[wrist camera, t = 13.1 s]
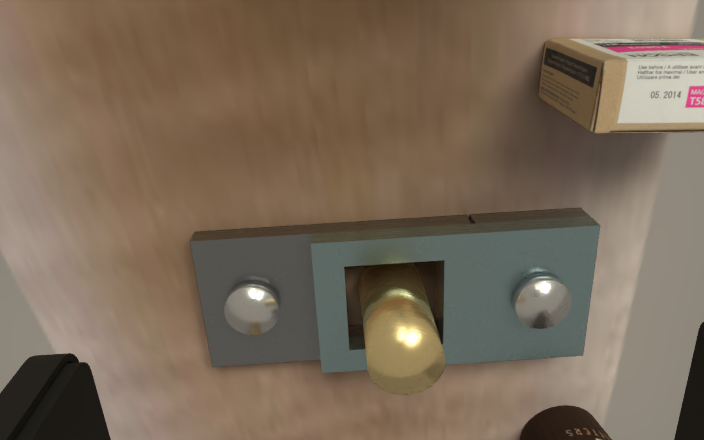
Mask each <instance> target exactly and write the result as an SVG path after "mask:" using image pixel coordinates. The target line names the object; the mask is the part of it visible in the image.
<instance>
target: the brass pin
mask: <svg viewBox="0 0 704 440" xmlns="http://www.w3.org/2000/svg"><path fill="white" fill-rule="evenodd" d="M359 292H360V302H361V311H362V320H363V330H364V339H365V348H366V358H367V367H368V372H369V375H370V377H371V379H372V380H373V382H374V383H375V384H376V385H377V386H378V387H380V388H381V389H383V390H385V391H387V392H390V393H393V394H400V395H408V394H414V393H418V392H421V391H423V390H425V389H427V388H429V387H430V386H432V385H433V384H434V383H435V382H436V381H437V380H438V379H439V378H440V376H441V374H442V373H443V370H444V367H445V354H444V350H443V347H442V344H441V341H440V338H439V334H438V331H437V328H436V325H435V322H434V318H433V315H432V312H431V309H430V306H429V303H428V299H427V296H426V293H425V290H424V287H423V283H422V280H421V277H420V274H419V272H418V270H417V268H416V267H415V266H414V265H413V264H412V263H411V262H409V263H394V264H378V265H368V266H367V267H366V268H365V269H364V270H363V272H362V274H361V276H360V279H359Z"/></svg>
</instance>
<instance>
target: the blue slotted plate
mask: <svg viewBox="0 0 704 440" xmlns="http://www.w3.org/2000/svg"><path fill="white" fill-rule="evenodd" d="M470 223H471V224H459V225H443V226H427V227H411V228H395V229H380V230H364V231H348V232H332V233H316V234H311V255H312V266H313V278H314V289H315V301H316V312H317V324H318V335H319V347H320V358H321V370H322V373H332V372H346V371H361V370H368V367H367V358H366V348H365V339H364V336H362V337H349V336H348V320H347V304H346V288H345V272H344V267H347V266H362V265H378V264H394V263H409V262H425V261H440V311H439V331H438V334H439V338H440V341H441V344H442V347H443V350H444V354H445V365H450V364H465V363H480V362H494V361H509V360H524V359H539V358H553V357H568V356H583V352H584V345H585V337H586V329H587V322H588V314H589V307H590V299H591V291H592V284H593V276H594V269H595V261H596V254H597V246H598V238H599V231H600V225H599V224H598V223H597V222H596V221H595V220H594V219H593V218H591V217H590V216H589V215H588V214H587V213H586V212H585V211H584V210H583V209H582V208H567V209H551V210H535V211H519V212H503V213H488V214H472V215H470Z"/></svg>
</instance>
